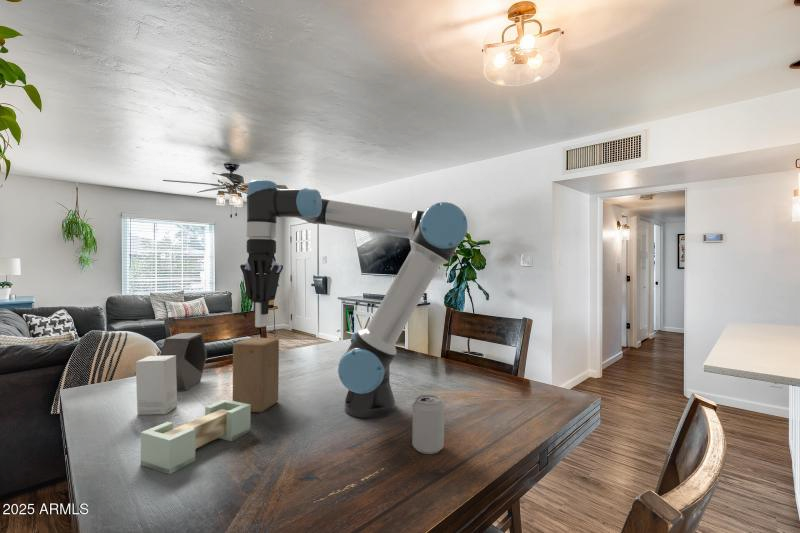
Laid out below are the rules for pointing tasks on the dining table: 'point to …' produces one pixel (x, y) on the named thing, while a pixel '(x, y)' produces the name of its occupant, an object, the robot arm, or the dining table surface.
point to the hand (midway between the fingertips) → (260, 326)
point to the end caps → (189, 438)
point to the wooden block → (256, 372)
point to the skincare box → (156, 385)
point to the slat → (205, 427)
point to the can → (428, 424)
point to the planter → (186, 358)
